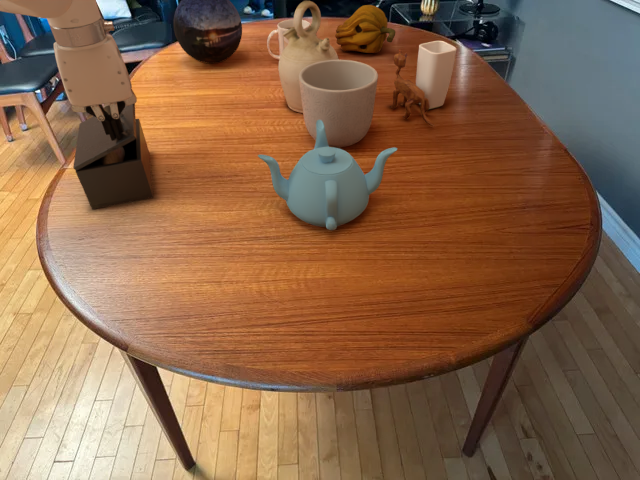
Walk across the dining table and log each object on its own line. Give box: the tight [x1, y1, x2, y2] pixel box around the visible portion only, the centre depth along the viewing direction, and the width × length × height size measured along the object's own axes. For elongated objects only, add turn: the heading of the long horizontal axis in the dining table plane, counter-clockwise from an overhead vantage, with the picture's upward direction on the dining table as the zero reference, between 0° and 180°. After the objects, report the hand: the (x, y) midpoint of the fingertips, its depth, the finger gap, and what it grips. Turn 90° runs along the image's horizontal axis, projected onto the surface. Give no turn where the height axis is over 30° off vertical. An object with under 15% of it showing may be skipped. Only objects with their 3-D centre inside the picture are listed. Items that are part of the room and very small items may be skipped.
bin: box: [75, 118, 154, 210], centre depth 95 cm, size 12×18×9 cm, turn 18°
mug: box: [266, 18, 311, 60], centre depth 141 cm, size 10×12×11 cm
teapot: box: [257, 120, 398, 231], centre depth 86 cm, size 17×19×12 cm
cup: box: [415, 40, 457, 110], centre depth 116 cm, size 7×7×15 cm
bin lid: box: [73, 103, 137, 172], centre depth 89 cm, size 13×18×5 cm
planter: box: [299, 59, 379, 148], centre depth 105 cm, size 17×17×15 cm
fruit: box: [334, 4, 396, 54], centre depth 146 cm, size 14×16×20 cm
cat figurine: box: [389, 48, 436, 128], centre depth 112 cm, size 18×7×14 cm, turn 27°
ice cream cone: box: [99, 147, 125, 165], centre depth 94 cm, size 5×5×15 cm
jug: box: [277, 0, 340, 114], centre depth 115 cm, size 15×16×25 cm
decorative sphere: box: [173, 0, 243, 64], centre depth 140 cm, size 20×20×20 cm
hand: (116, 136), depth 85 cm, fingers closed
